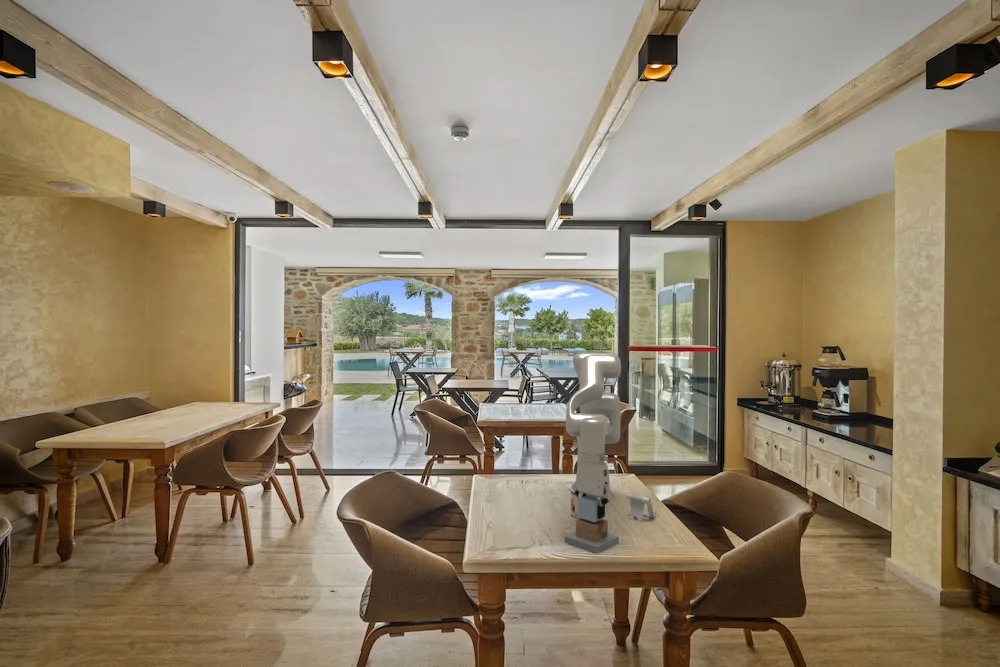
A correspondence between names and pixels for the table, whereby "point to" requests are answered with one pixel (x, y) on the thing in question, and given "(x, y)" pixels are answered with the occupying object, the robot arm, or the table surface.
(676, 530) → the table surface
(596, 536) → the walnut block
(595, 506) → the cube
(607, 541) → the slate base
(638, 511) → the portable electronic device stand
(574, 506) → the teacup with lid
